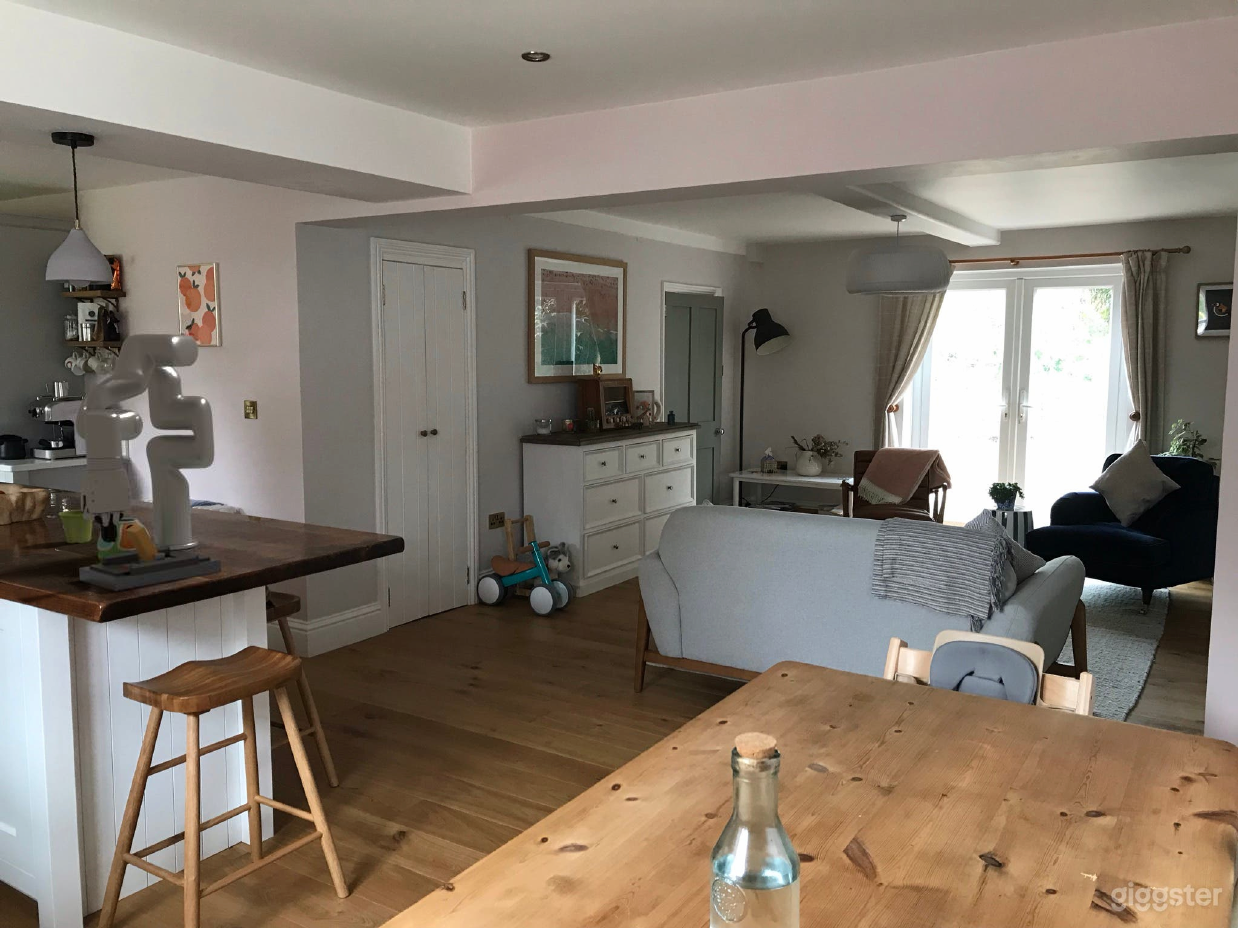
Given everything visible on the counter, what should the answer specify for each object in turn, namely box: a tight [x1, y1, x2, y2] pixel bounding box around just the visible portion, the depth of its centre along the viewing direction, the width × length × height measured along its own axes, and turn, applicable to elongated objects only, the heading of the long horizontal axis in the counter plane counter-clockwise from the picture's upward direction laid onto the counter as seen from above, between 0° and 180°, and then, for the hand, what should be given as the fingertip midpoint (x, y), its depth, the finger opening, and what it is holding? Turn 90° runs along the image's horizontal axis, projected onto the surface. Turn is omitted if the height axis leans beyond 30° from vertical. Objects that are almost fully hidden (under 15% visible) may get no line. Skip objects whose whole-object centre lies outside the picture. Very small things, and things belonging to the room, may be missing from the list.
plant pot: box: [58, 509, 95, 544], centre depth 285 cm, size 9×9×9 cm
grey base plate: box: [78, 550, 222, 592], centre depth 241 cm, size 18×26×6 cm
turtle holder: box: [96, 517, 151, 564], centre depth 255 cm, size 12×18×12 cm
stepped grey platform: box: [102, 546, 200, 576], centre depth 241 cm, size 20×18×2 cm
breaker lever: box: [125, 525, 158, 562], centre depth 239 cm, size 6×2×9 cm, turn 52°
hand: (109, 541), depth 233 cm, fingers closed
